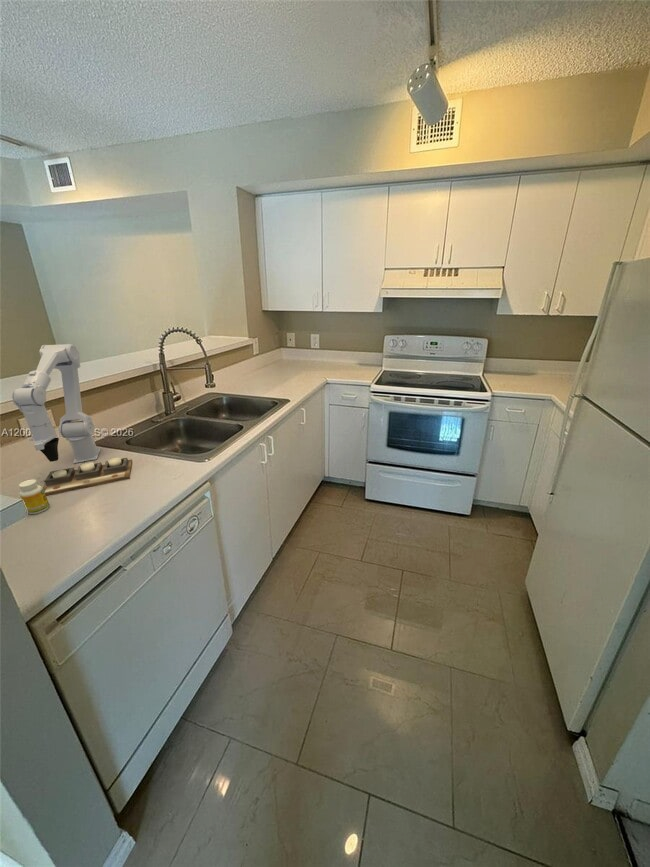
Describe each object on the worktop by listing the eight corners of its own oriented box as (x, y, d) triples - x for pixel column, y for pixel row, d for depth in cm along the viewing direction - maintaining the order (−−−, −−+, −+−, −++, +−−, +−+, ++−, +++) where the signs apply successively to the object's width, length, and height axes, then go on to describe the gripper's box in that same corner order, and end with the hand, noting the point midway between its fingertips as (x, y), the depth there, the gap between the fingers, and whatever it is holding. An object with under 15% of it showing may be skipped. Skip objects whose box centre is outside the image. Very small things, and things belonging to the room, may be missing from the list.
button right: (110, 464, 123) (108, 458, 122) (122, 461, 125) (121, 456, 124) (109, 469, 120) (107, 463, 119) (121, 466, 121) (119, 460, 120)
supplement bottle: (26, 509, 102) (14, 483, 98) (48, 502, 105) (37, 476, 102) (29, 517, 99) (17, 489, 95) (51, 508, 102) (40, 482, 98)
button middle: (83, 469, 120) (81, 463, 119) (96, 466, 121) (94, 461, 120) (81, 474, 117) (79, 468, 116) (94, 471, 118) (92, 466, 117)
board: (51, 476, 120) (48, 469, 118) (132, 461, 129) (130, 454, 128) (39, 497, 108) (35, 489, 107) (129, 478, 118) (127, 471, 116)
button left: (56, 477, 117) (53, 471, 116) (69, 474, 119) (67, 468, 118) (52, 482, 114) (50, 476, 113) (66, 480, 115) (64, 474, 114)
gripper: (31, 418, 112) (46, 453, 118) (16, 434, 100) (32, 472, 106) (57, 415, 115) (69, 450, 121) (44, 429, 103) (59, 467, 108)
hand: (54, 460), depth 113 cm, fingers closed
